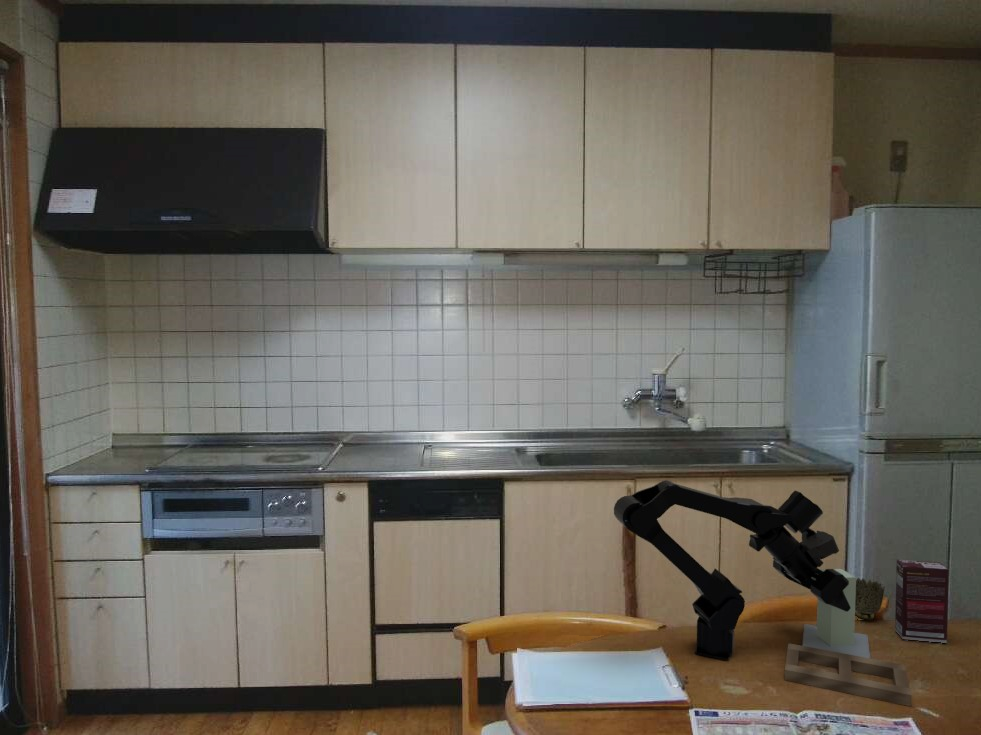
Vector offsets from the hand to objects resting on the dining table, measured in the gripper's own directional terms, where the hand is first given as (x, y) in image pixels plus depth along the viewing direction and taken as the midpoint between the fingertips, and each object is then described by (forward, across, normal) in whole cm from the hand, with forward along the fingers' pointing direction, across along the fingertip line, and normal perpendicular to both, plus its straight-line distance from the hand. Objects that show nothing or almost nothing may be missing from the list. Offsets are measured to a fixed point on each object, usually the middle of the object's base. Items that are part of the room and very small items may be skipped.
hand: (834, 600), depth 141 cm
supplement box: (+21, +2, -8) cm, 23 cm away
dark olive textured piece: (+18, +12, -4) cm, 22 cm away
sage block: (+6, 0, +6) cm, 8 cm away
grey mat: (+7, 0, +6) cm, 9 cm away
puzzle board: (+3, -13, +11) cm, 17 cm away
